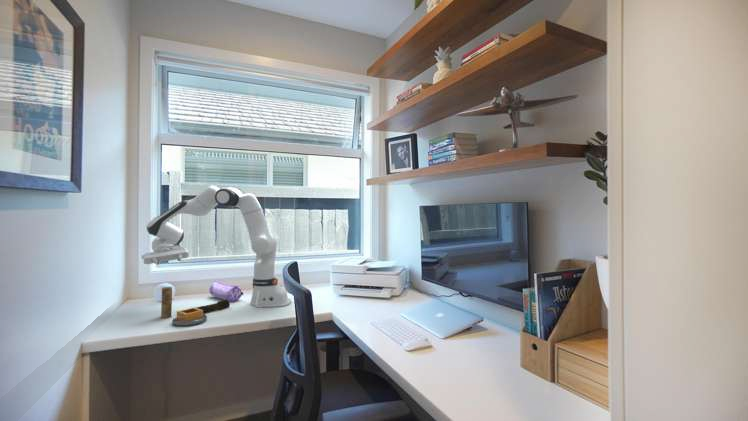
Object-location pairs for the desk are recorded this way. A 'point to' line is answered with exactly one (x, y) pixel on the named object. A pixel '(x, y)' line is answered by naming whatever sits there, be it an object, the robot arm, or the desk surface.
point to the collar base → (189, 317)
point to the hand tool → (215, 306)
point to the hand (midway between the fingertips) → (169, 261)
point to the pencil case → (225, 291)
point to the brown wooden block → (166, 302)
